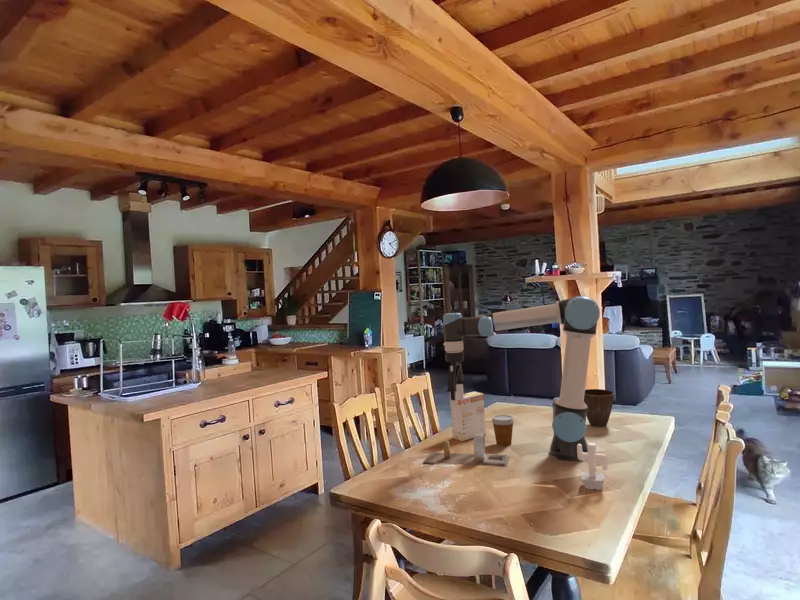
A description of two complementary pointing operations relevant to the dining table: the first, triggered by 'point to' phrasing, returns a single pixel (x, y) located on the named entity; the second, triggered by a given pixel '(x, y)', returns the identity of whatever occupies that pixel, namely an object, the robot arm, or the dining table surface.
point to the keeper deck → (457, 458)
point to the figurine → (592, 466)
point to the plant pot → (598, 406)
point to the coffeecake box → (468, 416)
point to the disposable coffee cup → (503, 429)
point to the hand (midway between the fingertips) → (457, 403)
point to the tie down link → (480, 452)
